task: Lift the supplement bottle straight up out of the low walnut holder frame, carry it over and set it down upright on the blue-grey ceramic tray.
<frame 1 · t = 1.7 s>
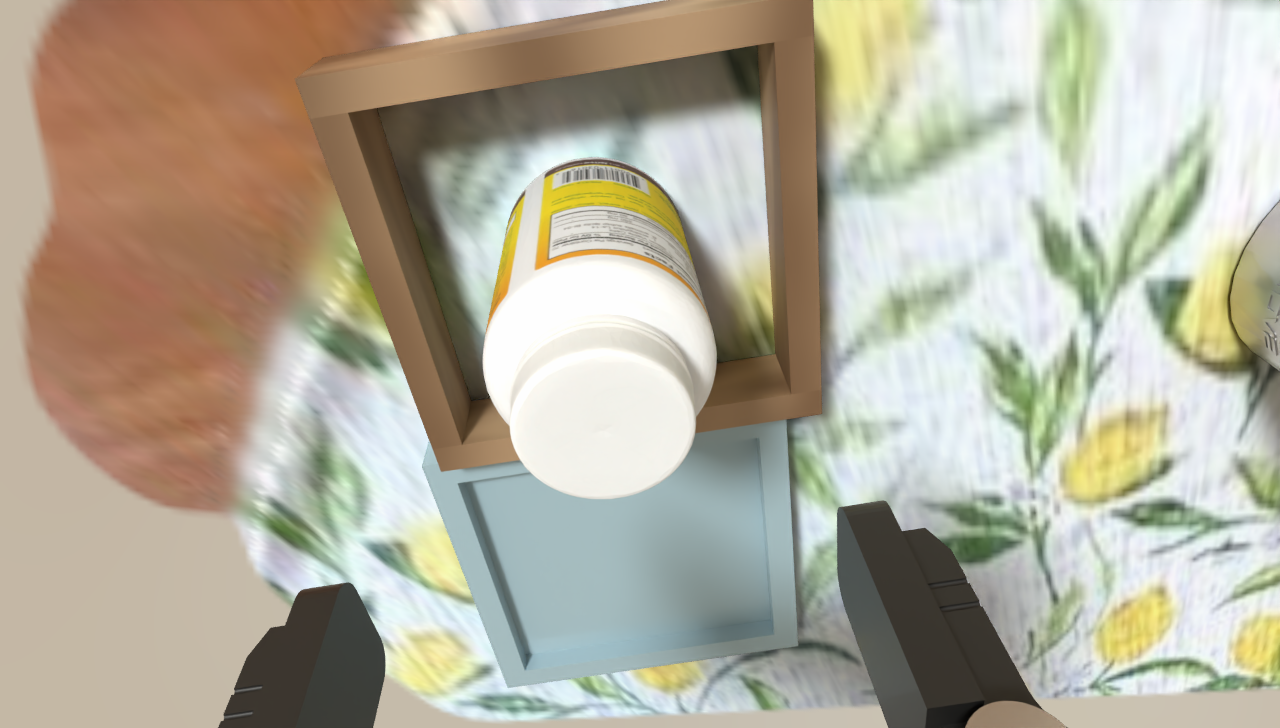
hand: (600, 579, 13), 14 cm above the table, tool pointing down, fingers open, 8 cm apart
holder: (595, 236, 25), on the table
supplement bottle: (595, 233, 25), resting in holder
tray: (628, 540, 32), on the table
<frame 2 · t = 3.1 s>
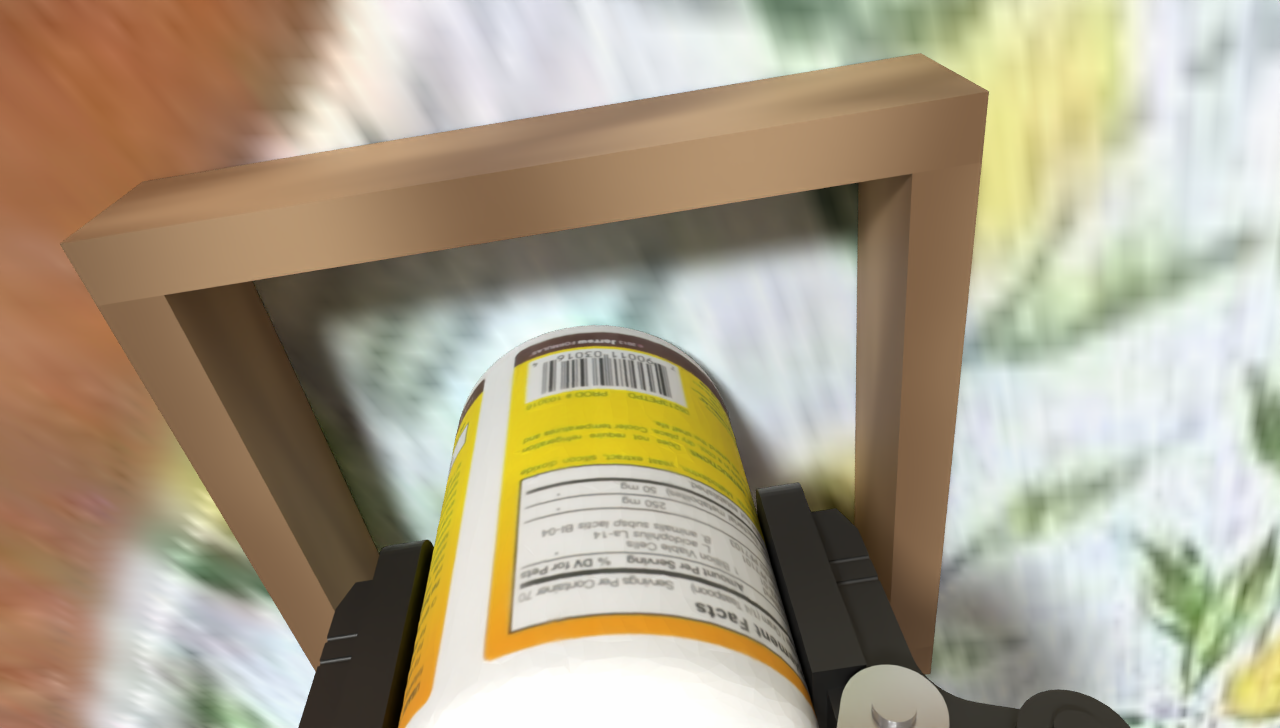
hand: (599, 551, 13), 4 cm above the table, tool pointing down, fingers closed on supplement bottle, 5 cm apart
holder: (595, 427, 16), on the table
supplement bottle: (595, 420, 17), resting in holder, touching gripper
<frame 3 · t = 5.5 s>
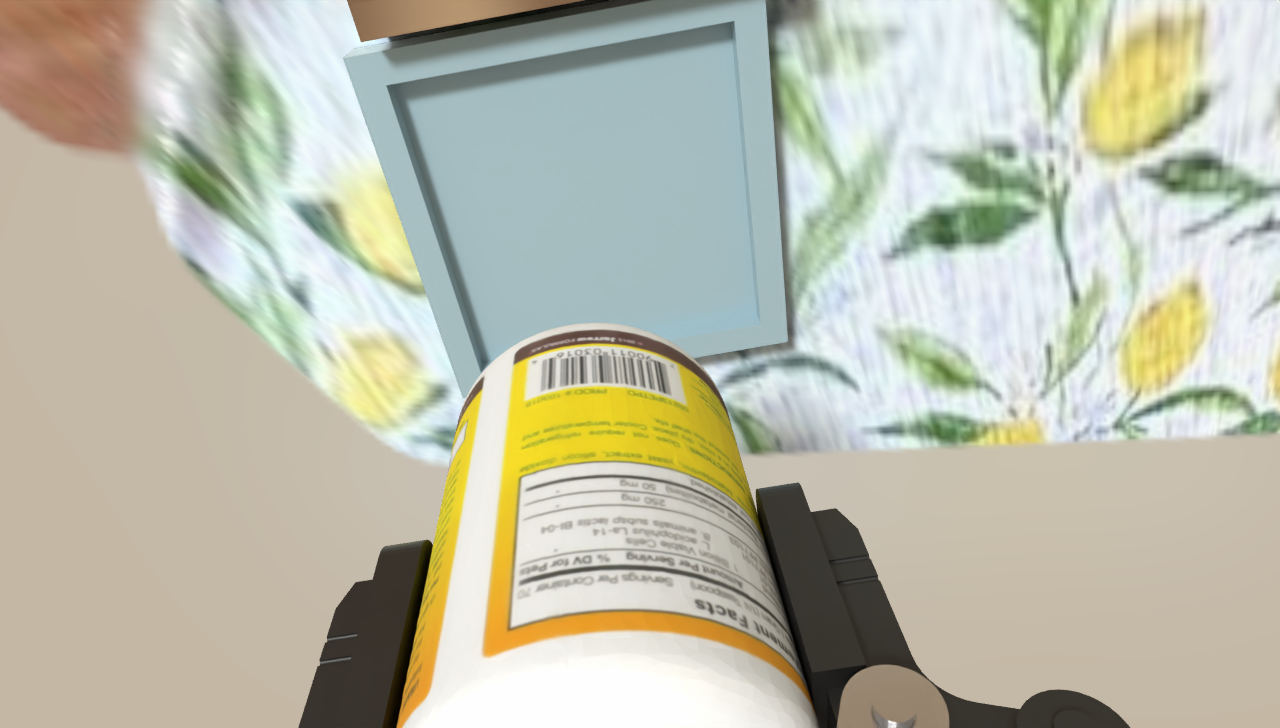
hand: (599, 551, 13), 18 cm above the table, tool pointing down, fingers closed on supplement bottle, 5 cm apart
supplement bottle: (595, 418, 17), point 14 cm above the table, touching gripper
tray: (592, 202, 28), on the table
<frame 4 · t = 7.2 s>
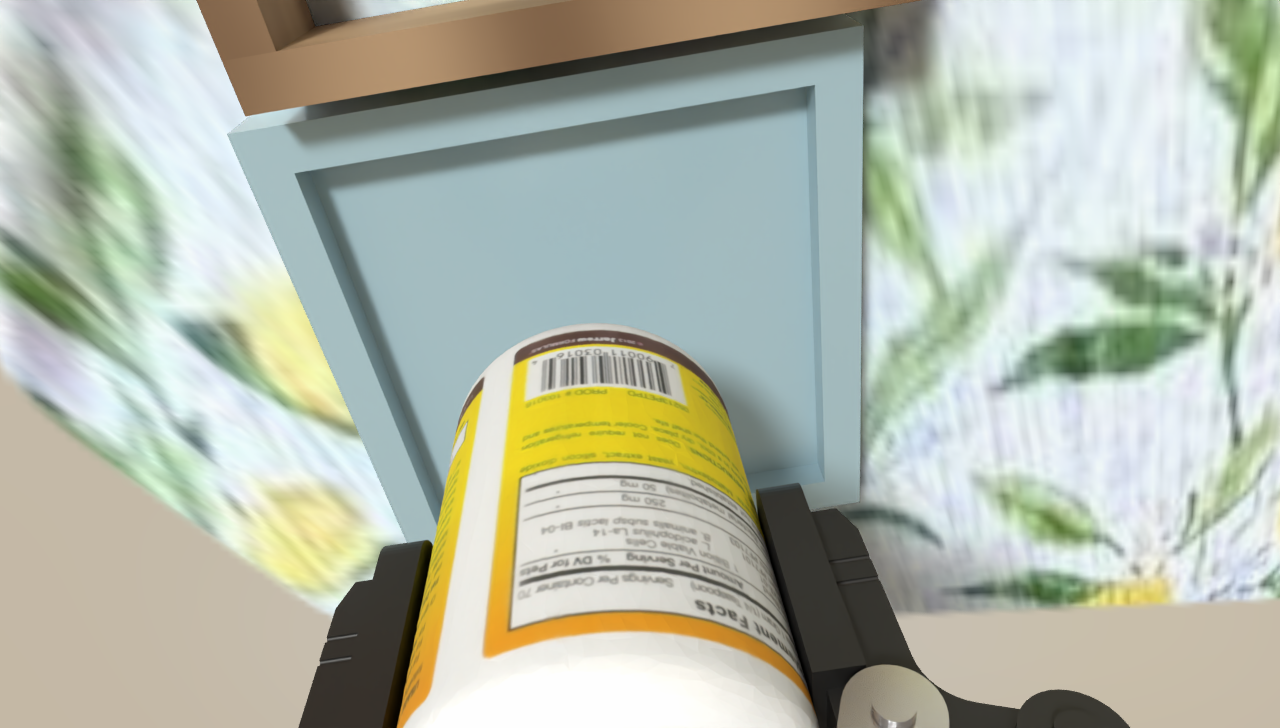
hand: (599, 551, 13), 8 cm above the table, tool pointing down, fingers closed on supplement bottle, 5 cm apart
supplement bottle: (595, 419, 17), point 4 cm above the table, touching gripper
tray: (597, 322, 20), on the table
when the fingers open (6 cm above the table, at t = 8.3 s): supplement bottle drops 1 cm, resting on tray.
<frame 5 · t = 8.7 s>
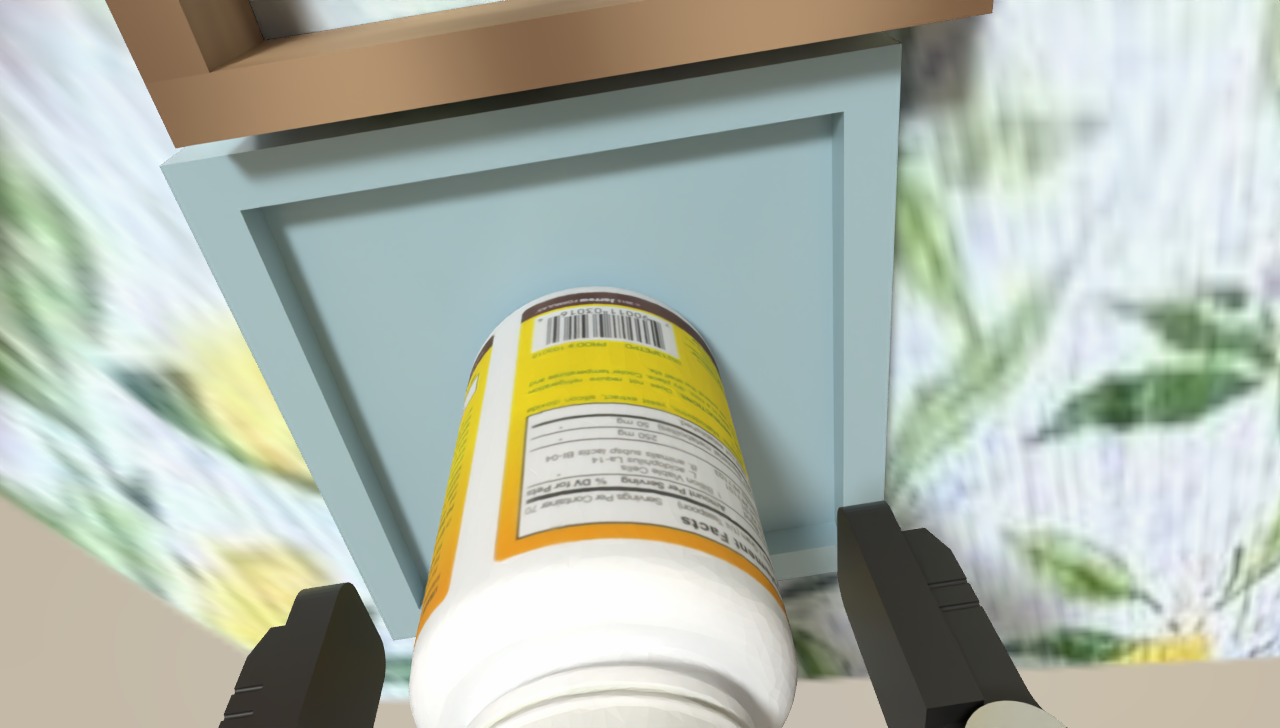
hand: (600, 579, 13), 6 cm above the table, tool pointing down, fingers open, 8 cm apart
supplement bottle: (596, 378, 18), resting on tray
tray: (591, 370, 18), on the table
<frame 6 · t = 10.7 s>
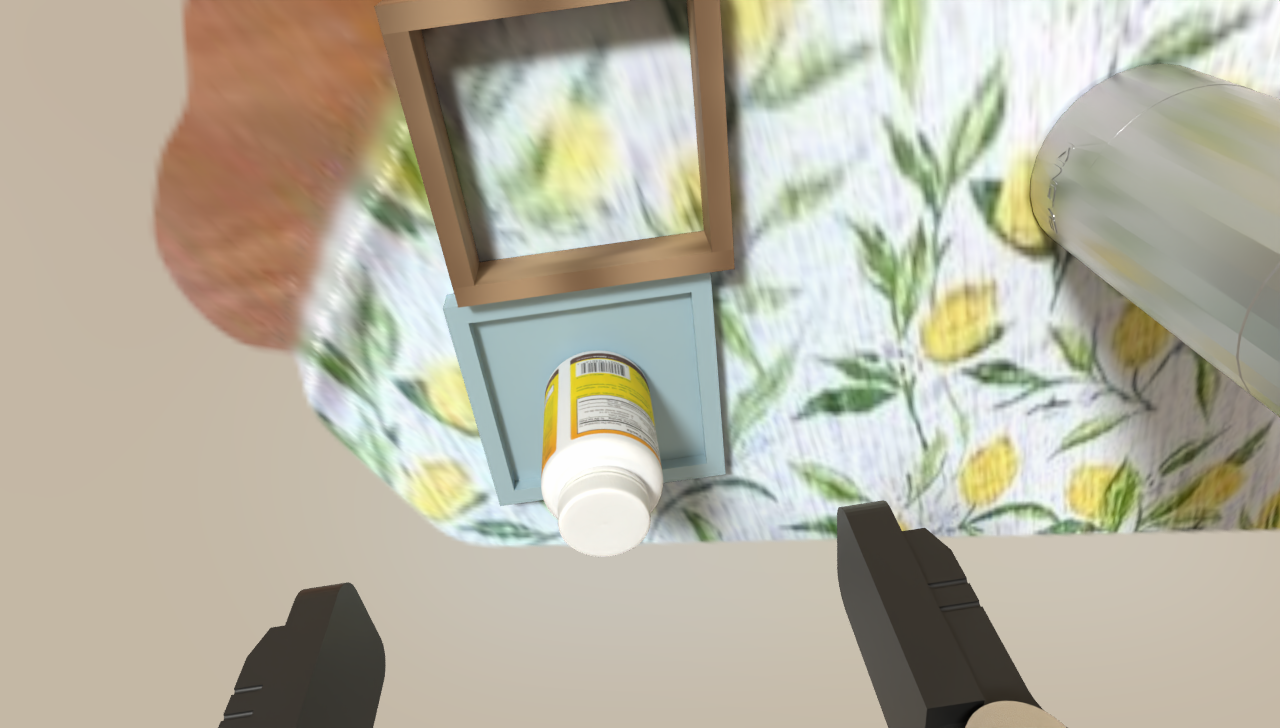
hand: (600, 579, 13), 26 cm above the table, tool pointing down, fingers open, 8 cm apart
holder: (573, 134, 35), on the table
supplement bottle: (597, 387, 42), resting on tray
tray: (595, 383, 42), on the table
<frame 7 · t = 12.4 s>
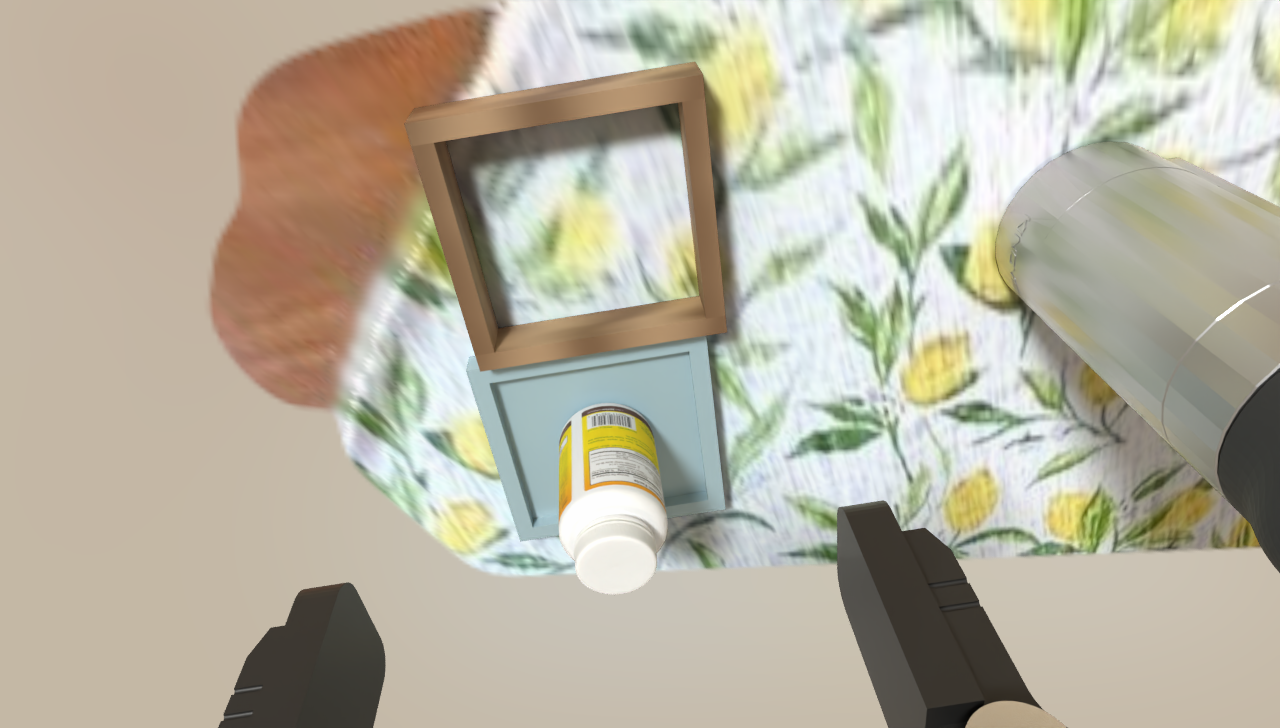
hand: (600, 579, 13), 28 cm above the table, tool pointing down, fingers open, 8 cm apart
holder: (580, 217, 39), on the table
supplement bottle: (606, 434, 46), resting on tray
tray: (604, 430, 47), on the table
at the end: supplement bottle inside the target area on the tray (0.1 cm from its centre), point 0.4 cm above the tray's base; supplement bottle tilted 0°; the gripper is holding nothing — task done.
